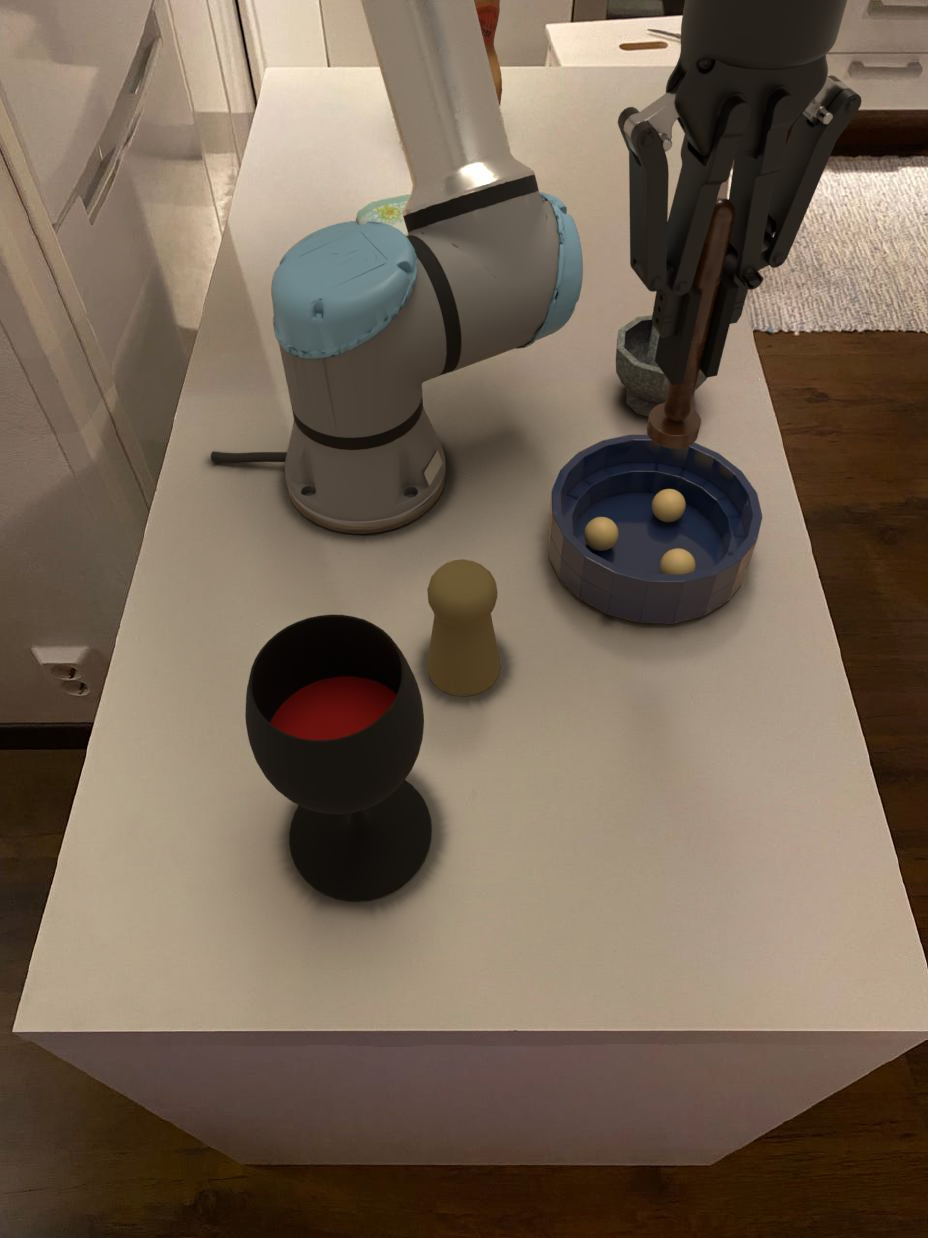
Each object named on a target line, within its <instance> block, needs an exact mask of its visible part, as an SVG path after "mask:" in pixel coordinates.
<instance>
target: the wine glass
mask: <svg viewBox="0 0 928 1238" xmlns="http://www.w3.org/2000/svg"><path fill="white" fill-rule="evenodd" d="M251 665H252V666H251V668H250V672H249V677H248V682H247V687H246V694H245V715H244V717H245V726H246V733H247V738H248V743H249V746H250V748H251V752H252V754H253V757H254V759H255V762H256V764H257V766H259V769H260V770H261V772H262V774H263V775H264V777H265V779H266V780H267V781H268V782H269V783H270V784H271V785H272V786H273V787H274V789H275V790H276V791H277V792H278V793H280V794H281V795H282V796H284V798H286V799H287V800H289V801H290V802H292V803H294V804H296V805H297V807H296V809H295V811H294V813H293V815H292V818H291V822H290V826H289V833H288V845H289V851H290V855H291V858H292V861H293V864H294V866H295V868H296V869H297V871H298V873H299V875H300V876H301V877H302V878H303V880H304V881H305V882H306V883H307V884H308V885H309V886H311V887H312V888H313V889H315V890H316V891H317V892H319V893H321V894H322V895H325V896H327V897H329V898H332V899H334V900H339V901H345V902H367V901H372V900H377V899H380V898H383V897H386V896H388V895H390V894H393V893H394V892H395V891H398V890H399V889H401V888H402V887H403V886H405V885H406V884H407V883H408V882H410V881H411V879H412V878H413V877H414V876H415V875H416V874H417V873H418V872H419V871H420V869H421V867H422V866H423V864H424V863H425V861H426V859H427V856H428V854H429V852H430V849H431V848H430V847H431V844H432V838H433V837H432V836H433V835H432V834H433V827H432V826H433V825H432V818H431V814H430V810H429V807H428V806H427V805H428V804H427V803H426V801H425V799H424V797H423V796H422V795H421V793H420V792H419V791H418V790H417V789H416V787H414V785H412V784H411V783H410V782H409V781H408V780H406V779H407V777H408V776H409V775H410V773H411V772H412V770H413V768H414V766H415V763H416V762H417V759H418V756H419V755H420V750H421V746H422V744H423V739H424V729H425V714H424V713H425V712H424V704H423V698H422V694H421V691H420V688H419V684H418V681H417V679H416V678H417V677H416V675H415V674H414V671H413V670H412V668H411V666H410V664H409V662H408V659H407V658H406V657H405V654H404V653H403V651H402V650H401V648H400V647H399V646H398V644H396V642H395V641H394V639H393V638H392V637H391V635H389V633H387V632H386V631H385V630H384V629H382V628H381V627H379V626H378V625H376V624H374V623H372V622H371V621H368V620H367V619H364V618H360V617H356V616H353V615H348V614H347V615H346V614H323V615H316V616H311V617H307V618H304V619H302V620H299V621H296V622H294V623H291V624H289V625H287V626H286V627H284V628H283V629H281V630H279V631H278V632H277V633H275V635H273V636H272V637H270V639H269V640H268V641H267V642H265V644H264V645H263V646H262V647H261V649H260V650H259V652H258V653H257V655H256V656H255V658H254V661H253V662H252V664H251Z"/></svg>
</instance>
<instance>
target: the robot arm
mask: <svg viewBox="0 0 928 1238" xmlns="http://www.w3.org/2000/svg"><path fill="white" fill-rule="evenodd" d="M360 3H361V7H362V10H363V13H364V17H365V20H366V24H367V28H368V31H369V34H370V38H371V42H372V45H373V48H374V53H375V56H376V60H377V63H378V67H379V71H380V75H381V77H382V81H383V84H384V89H385V91H386V95H387V98H388V102H389V106H390V109H391V113H392V117H393V120H394V124H395V127H396V131H397V134H398V137H399V141H400V145H401V148H402V152H403V155H404V158H405V162H406V166H407V169H408V173H409V177H410V180H411V184H412V187H411V193H410V194H411V195H410V197H409V199H408V201H407V203H406V205H405V207H404V210H403V212H402V214H403V218H404V221H405V225H406V228H407V232H408V235H407V236H405V235H404V234H403V233H402V232H401V231H400V230H398V229H397V228H395V227H392V226H390V225H388V224H384V223H381V222H375V221H367V222H366V223H365V224H363V225H359V224H358V223H357V222H356V220H350V221H344V222H338V223H335V224H330V225H328V226H325V227H323V228H320V229H317V230H315V231H314V232H311V233H309V234H307V235H306V236H304V237H302V238H301V239H299V241H297V242H296V243H294V244H293V245H292V246H291V247H290V248H289V249H288V250H287V251H286V252H285V254H284V255H283V256H282V258H281V259H280V261H279V264H278V266H277V267H276V268H275V270H274V272H273V276H272V279H271V286H270V292H271V293H270V294H271V301H272V310H273V318H272V326H273V332H274V336H275V339H276V340H277V342H278V345H279V350H280V355H281V360H282V365H283V371H284V376H285V380H286V386H287V391H288V396H289V401H290V406H291V411H292V417H293V423H292V427H291V432H290V437H289V442H288V447H287V450H286V451H263V452H262V451H256V452H255V451H253V452H252V451H251V452H223V451H222V452H221V451H214V450H213V451H211V453H210V460H211V461H212V462H216V463H226V464H243V463H244V464H247V463H284V478H285V483H286V489H287V493H288V495H289V498H290V501H291V502H292V504H293V506H294V507H295V508H296V509H297V510H298V512H299V513H300V514H301V515H302V516H304V517H305V518H306V519H308V520H309V521H310V522H312V523H314V524H316V525H318V526H320V527H321V528H325V529H327V530H331V531H335V532H339V533H345V534H356V535H357V534H358V535H362V534H376V533H383V532H387V531H391V530H394V529H398V528H401V527H402V526H405V525H408V524H409V523H412V522H413V521H415V520H417V519H419V518H420V517H421V516H423V515H424V514H425V513H427V512H428V511H429V510H430V509H432V507H433V506H434V505H435V504H436V502H437V501H438V500H439V498H440V496H441V495H442V493H443V490H444V488H445V484H446V476H447V474H446V473H447V472H446V471H447V470H446V456H445V453H444V449H443V446H442V443H441V441H440V438H439V437H438V434H437V433H436V430H435V429H434V426H433V424H432V422H431V420H430V418H429V415H428V414H427V411H426V409H425V408H424V407H425V406H424V403H423V383H425V382H427V381H431V380H432V379H433V380H434V379H435V378H438V377H440V376H443V375H445V374H448V373H452V372H455V371H458V370H460V369H463V368H466V367H468V366H471V365H474V364H476V363H477V364H478V363H480V362H482V361H485V360H488V359H490V358H493V357H496V356H499V355H501V354H504V353H507V352H510V351H512V350H515V349H517V350H518V349H525V348H528V347H530V346H531V345H533V344H534V343H535V342H537V341H538V340H541V339H544V338H545V337H548V336H550V335H553V334H555V333H556V332H558V331H560V330H561V329H562V328H564V326H566V324H567V323H568V322H569V321H570V319H571V318H572V317H573V314H574V312H575V310H576V305H577V303H578V302H579V300H580V296H581V291H582V286H583V279H584V278H583V277H584V276H583V275H584V259H583V249H582V244H581V243H582V241H581V238H580V233H579V230H578V228H577V225H576V223H575V220H574V218H573V215H571V214H568V207H567V206H566V204H565V203H564V202H563V201H562V200H561V199H560V198H558V197H557V196H556V195H553V194H550V193H545V192H543V191H540V190H539V189H540V188H539V185H538V181H537V177H536V173H535V170H533V169H532V168H530V167H529V166H527V164H525V163H522V162H521V161H520V160H518V159H516V157H515V156H514V155H513V154H512V152H511V148H510V144H509V140H508V139H509V138H508V135H507V131H506V127H505V123H504V118H503V115H502V110H501V105H500V106H499V102H498V98H497V93H496V89H495V85H494V81H493V77H492V73H491V69H490V65H489V61H488V56H487V52H486V48H485V44H484V40H483V36H482V32H481V28H480V23H479V19H478V15H477V11H476V7H475V3H474V0H360ZM847 3H848V0H684V4H683V11H682V17H681V25H680V53H679V57H678V60H677V63H676V64H675V66H674V69H673V70H672V71H671V74H670V76H669V77H668V79H667V82H666V85H665V93H664V94H663V95H662V96H660V97H658V98H657V99H656V100H654V101H652V103H650V104H649V105H647V106H646V107H645V108H643V109H642V110H639V109H637V107H634V106H628V107H626V108H624V109H623V110H622V111H621V112H620V113H619V115H618V119H617V125H618V129H619V131H620V133H621V137H622V138H623V141H624V144H625V145H626V149H627V150H628V181H629V184H628V190H629V194H628V195H629V265H630V268H631V269H632V271H633V272H634V273H635V274H636V276H637V277H638V279H639V280H640V282H641V283H642V284H643V285H644V286H645V287H646V289H647V290H648V291H649V292H651V293H652V292H653V293H655V297H654V303H653V307H652V322H653V326H654V327H655V328H656V330H657V331H658V332H659V334H660V335H659V340H658V346H657V351H656V357H655V362H656V363H657V364H658V366H659V367H660V369H661V370H662V372H663V373H664V374H665V376H666V377H667V379H668V380H669V382H670V383H671V384H672V385H675V384H680V383H683V379H684V374H685V370H686V365H687V360H688V356H689V351H690V347H691V342H692V337H693V333H694V328H695V323H696V319H697V314H698V309H699V305H700V300H701V295H702V294H701V293H700V292H699V290H698V289H697V288H696V287H695V286H694V285H693V284H692V283H693V280H694V276H695V273H696V269H697V266H698V262H699V259H700V256H701V252H702V249H703V245H704V242H705V238H706V235H707V231H708V228H709V225H710V221H711V218H712V214H713V211H714V207H715V204H716V200H717V198H718V196H719V194H720V190H721V187H722V184H723V183H726V182H727V181H728V180H729V179H730V174H731V181H730V187H729V195H728V199H729V200H730V201H731V202H732V203H733V205H734V208H735V219H734V223H733V227H732V232H731V236H730V240H729V245H728V249H727V253H726V258H725V262H724V266H723V271H722V275H721V280H720V284H719V288H718V293H717V297H716V301H715V306H714V310H713V314H712V319H711V323H710V328H709V332H708V336H707V341H706V345H705V349H704V354H703V358H702V362H701V367H700V370H701V371H702V372H703V374H704V375H705V376H706V378H707V379H708V378H712V377H717V376H718V374H719V370H720V365H721V361H722V358H723V353H724V349H725V345H726V341H727V337H728V333H729V329H730V326H731V325H733V324H737V323H738V322H739V320H740V318H741V317H742V315H743V311H744V306H745V302H746V299H747V294H748V291H752V290H755V289H758V288H759V287H760V286H761V285H762V283H763V282H764V278H765V277H763V275H762V274H761V273H760V272H759V271H761V270H762V269H765V268H767V267H770V268H773V269H775V268H776V269H777V268H779V267H780V266H782V265H783V264H784V263H785V262H786V260H787V259H788V257H789V254H790V251H791V250H792V248H793V244H794V242H795V240H796V238H797V235H798V233H799V231H800V228H801V225H802V223H803V221H804V219H805V216H806V213H807V212H808V210H809V206H810V204H811V202H812V200H813V196H815V195H814V194H815V192H816V190H817V188H818V185H819V183H820V181H821V179H822V175H823V173H824V172H825V169H826V166H827V164H828V163H829V162H828V161H829V159H830V157H831V154H832V152H833V150H834V147H835V145H836V143H837V141H838V139H839V138H840V136H841V135H842V134H843V132H844V131H845V129H846V128H847V127H848V125H849V124H850V122H851V121H852V119H854V117H855V116H856V114H857V113H858V111H859V110H860V108H861V106H862V102H863V101H862V97H861V96H860V94H858V92H856V91H854V90H853V89H852V88H851V87H850V86H848V85H847V84H846V83H845V82H843V81H842V80H841V79H839V77H837V76H835V75H832V74H831V75H829V65H828V61H827V54H828V53H829V52H830V51H831V50H832V49H833V48H834V45H835V44H836V41H837V39H838V36H839V32H840V29H841V24H842V21H843V18H844V13H845V10H846V7H847ZM676 121H677V122H678V123H679V126H680V128H681V129H682V131H683V134H684V136H683V141H682V144H681V148H680V159H681V166H680V167H681V168H680V170H679V171H680V172H679V175H678V179H677V183H676V187H675V192H674V195H673V199H672V203H671V207H670V211H669V182H670V181H669V178H670V177H669V176H670V175H669V162H668V157H667V154H666V152H668V151H670V150H671V149H672V146H673V141H672V138H673V131H672V130H673V126H674V124H675V122H676ZM791 128H792V129H791ZM789 130H791V131H790V134H789ZM788 134H789V136H788ZM731 171H732V173H731Z"/></svg>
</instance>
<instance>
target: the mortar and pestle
mask: <svg viewBox="0 0 928 1238" xmlns="http://www.w3.org/2000/svg"><path fill="white" fill-rule="evenodd" d="M659 335H660V334H659V332H658V331H657V330H656V328H655V327H654V326H653V322H652V315H643V316H637V317H635V318H634V319H632V320H631V321H629V322H628V323H626V324H625V325H624V326H622V327H620V329H618V332H617V338H616V351H615V373H616V375H617V377H618V379H619V381H620V383H621V384H622V385H623V386H624V387H625V388H626V400H625V401H626V404H627V405H628V406H629V407H630V408H631V409H632V410H633V411H634V412H635V413H636V414H637V415H641V416H645V417H648V418H649V414H650V412H651V410H652V409H653V408H654V407H656V406H657V405H660V404H662V403H665V400H666V395H667V390H668V385H669V380H668V379H667V377H666V376H665V374H664V373H663V372H662V370H661V369H660V367H659V366H658V364H657V363H656V362H655V357H656V351H657V346H658V340H659ZM707 380H708V378H706V376H705V375H704V374H703V372H702V371H701V370H700V371H699V375H698V380H697V384H696V389H695V391H697V390H698V389H699V388H700V387H701V386H702V385H703V384H704V383H705V382H706V381H707Z"/></svg>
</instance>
